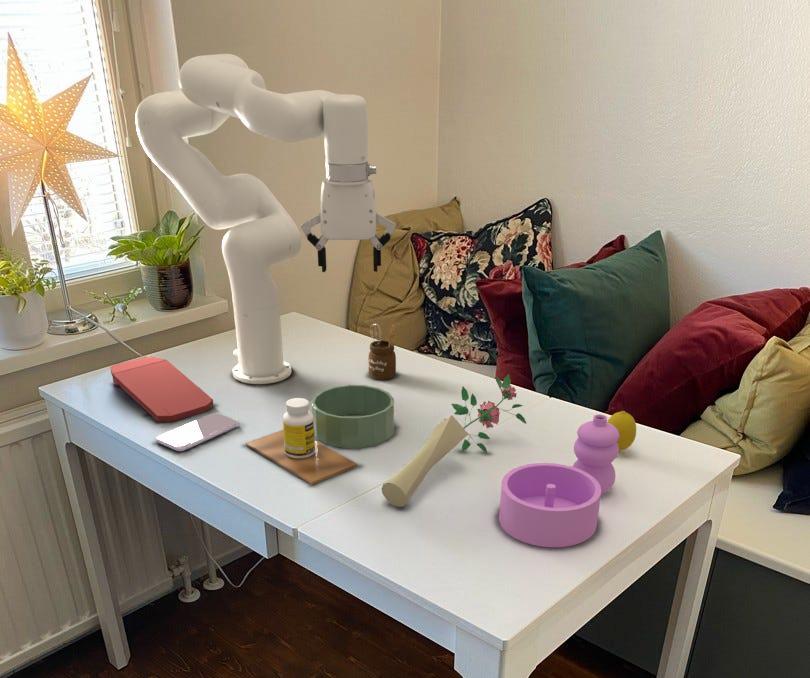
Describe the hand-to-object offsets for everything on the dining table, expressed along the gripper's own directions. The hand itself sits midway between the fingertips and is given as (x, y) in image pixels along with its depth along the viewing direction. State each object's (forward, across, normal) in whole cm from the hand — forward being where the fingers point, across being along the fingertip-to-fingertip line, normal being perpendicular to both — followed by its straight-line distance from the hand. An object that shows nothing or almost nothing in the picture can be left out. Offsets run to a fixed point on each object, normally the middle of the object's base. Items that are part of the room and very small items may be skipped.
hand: (349, 270), depth 165 cm
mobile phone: (+26, +29, +15) cm, 42 cm away
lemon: (+26, -48, +25) cm, 60 cm away
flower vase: (+26, -17, +30) cm, 44 cm away
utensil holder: (+26, -6, -13) cm, 30 cm away
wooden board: (+26, +9, +25) cm, 37 cm away
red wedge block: (+26, +40, -3) cm, 48 cm away
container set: (+26, -34, +45) cm, 63 cm away
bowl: (+26, 0, +14) cm, 30 cm away
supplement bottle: (+26, +9, +25) cm, 37 cm away
